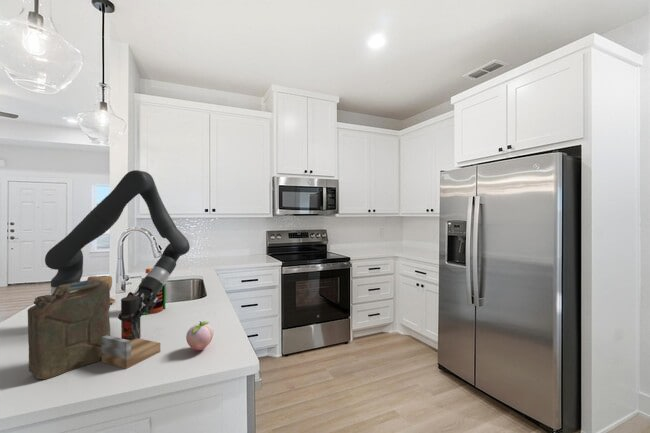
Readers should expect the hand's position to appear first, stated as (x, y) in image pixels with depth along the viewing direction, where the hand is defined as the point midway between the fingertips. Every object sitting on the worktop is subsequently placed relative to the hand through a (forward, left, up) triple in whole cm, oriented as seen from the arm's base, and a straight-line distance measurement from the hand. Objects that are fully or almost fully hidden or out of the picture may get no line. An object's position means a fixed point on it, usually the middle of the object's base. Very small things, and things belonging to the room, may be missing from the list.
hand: (126, 320), depth 112 cm
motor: (-10, +34, -8) cm, 37 cm away
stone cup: (-43, +42, -8) cm, 61 cm away
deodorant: (0, +2, -7) cm, 8 cm away
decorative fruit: (+29, -6, -8) cm, 30 cm away
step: (+9, -11, -8) cm, 16 cm away
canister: (-6, -16, -8) cm, 19 cm away
